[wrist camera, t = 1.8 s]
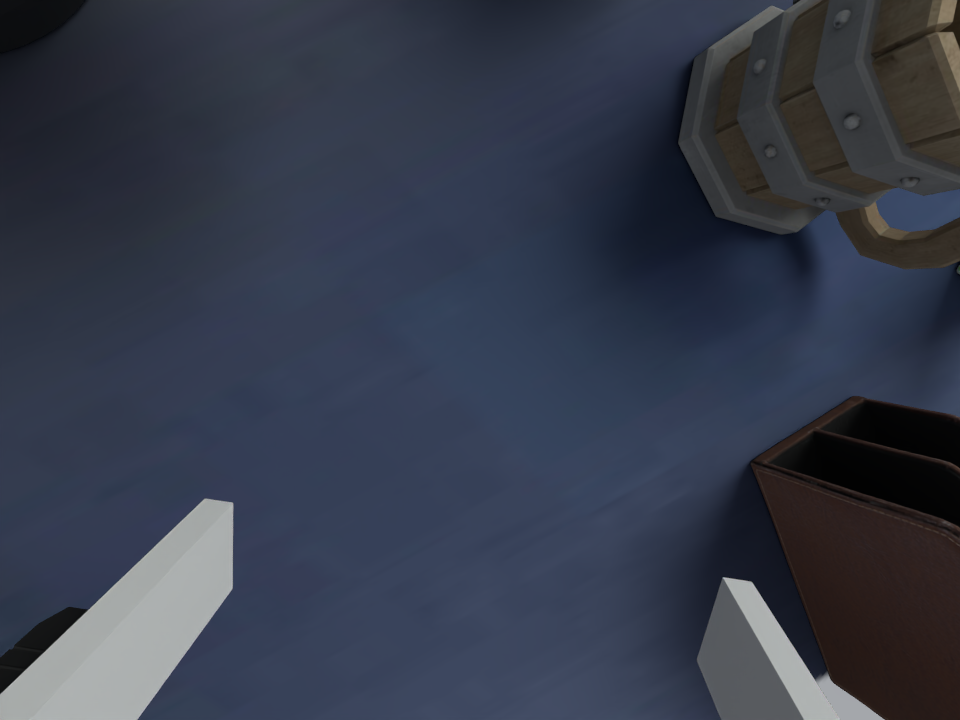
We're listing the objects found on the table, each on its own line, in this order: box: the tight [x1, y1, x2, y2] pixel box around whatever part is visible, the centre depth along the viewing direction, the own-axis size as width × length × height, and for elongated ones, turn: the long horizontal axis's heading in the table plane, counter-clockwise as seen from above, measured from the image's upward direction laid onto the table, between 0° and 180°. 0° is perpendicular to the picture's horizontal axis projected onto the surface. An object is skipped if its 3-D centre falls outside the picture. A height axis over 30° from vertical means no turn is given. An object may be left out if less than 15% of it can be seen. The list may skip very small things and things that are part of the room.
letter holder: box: [751, 396, 960, 720], centre depth 33 cm, size 10×20×14 cm, turn 25°
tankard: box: [678, 0, 960, 269], centre depth 28 cm, size 20×13×15 cm, turn 34°
